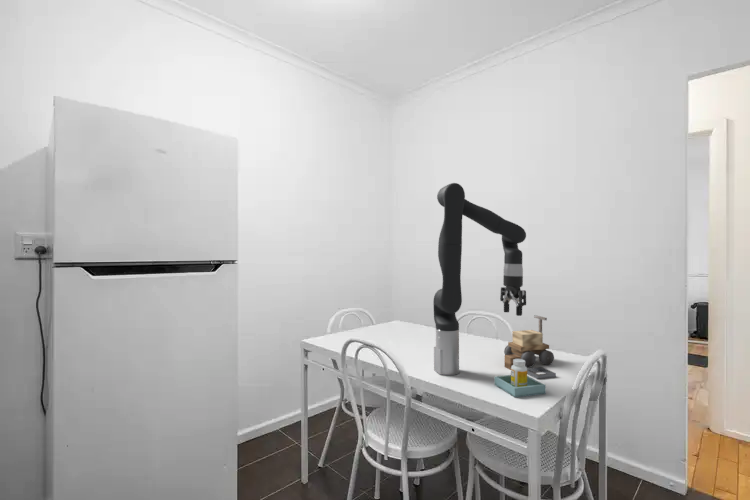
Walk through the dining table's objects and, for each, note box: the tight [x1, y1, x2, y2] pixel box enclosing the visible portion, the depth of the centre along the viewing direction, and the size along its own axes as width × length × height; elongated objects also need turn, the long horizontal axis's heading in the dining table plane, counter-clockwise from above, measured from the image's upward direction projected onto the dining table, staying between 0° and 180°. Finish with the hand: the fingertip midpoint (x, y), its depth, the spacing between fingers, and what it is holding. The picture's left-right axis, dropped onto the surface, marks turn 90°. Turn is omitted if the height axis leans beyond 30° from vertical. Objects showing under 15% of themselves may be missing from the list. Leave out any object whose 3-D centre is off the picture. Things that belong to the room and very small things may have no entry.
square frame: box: [527, 366, 557, 380], centre depth 147 cm, size 8×8×2 cm
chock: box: [504, 354, 521, 371], centre depth 155 cm, size 5×4×5 cm
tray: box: [494, 374, 547, 398], centre depth 132 cm, size 12×12×3 cm
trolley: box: [503, 314, 555, 368], centre depth 164 cm, size 15×14×19 cm
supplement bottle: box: [510, 359, 528, 387], centre depth 132 cm, size 5×5×10 cm
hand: (512, 313), depth 155 cm, fingers open, 8 cm apart
